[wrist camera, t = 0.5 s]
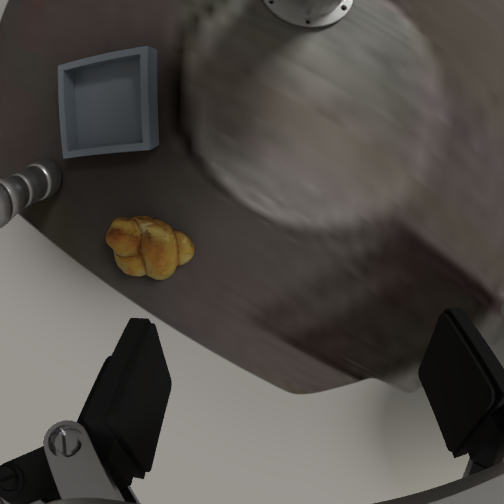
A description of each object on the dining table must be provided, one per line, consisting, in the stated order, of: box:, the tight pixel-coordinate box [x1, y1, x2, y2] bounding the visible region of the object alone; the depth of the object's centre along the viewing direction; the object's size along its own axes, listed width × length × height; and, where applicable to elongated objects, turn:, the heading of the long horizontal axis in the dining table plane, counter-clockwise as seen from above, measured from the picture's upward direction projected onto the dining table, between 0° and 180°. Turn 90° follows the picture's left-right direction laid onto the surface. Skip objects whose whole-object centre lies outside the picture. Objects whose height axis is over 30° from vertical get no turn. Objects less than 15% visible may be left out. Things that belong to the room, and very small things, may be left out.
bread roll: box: [106, 216, 194, 280], centre depth 45 cm, size 13×10×8 cm
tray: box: [58, 46, 159, 159], centre depth 37 cm, size 14×14×4 cm
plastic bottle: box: [0, 159, 62, 228], centre depth 34 cm, size 6×7×20 cm
